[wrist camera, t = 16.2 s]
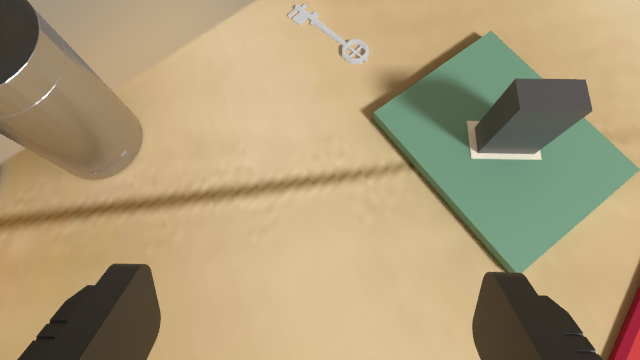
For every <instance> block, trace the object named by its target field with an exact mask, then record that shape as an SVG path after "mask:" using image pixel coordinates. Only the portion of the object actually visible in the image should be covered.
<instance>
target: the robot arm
mask: <svg viewBox="0 0 640 360" xmlns="http://www.w3.org/2000/svg"><path fill="white" fill-rule="evenodd" d="M0 134H2V135H4V136H6V137H8V138H9V139H11V140H13V141H15V142H16V143H18V144H20V145H22V146H24V147H25V148H27V149H29V150H31V151H33V152H34V153H36V154H38V155H40V156H41V157H43V158H45V159H47V160H49V161H50V162H52V163H54V164H56V165H57V166H59V167H61V168H63V169H65V170H66V171H68V172H70V173H72V174H74V175H75V176H77V177H81V178H84V179H92V180H95V179H103V178H107V177H110V176H113V175H115V174H116V173H118V172H120V171H122V170H123V169H124V168H126V167H127V166H128V165H129V164H130V163H131V162H132V161H133V159H134V158H135V156H136V155H137V153H138V151H139V148H140V146H141V142H142V128H141V125H140V123H139V120H138V119H137V118H136V116H135V115H134V114H133V113H132V112H131V111H130V109H129V108H128V107H127V106H126V105H125V104H124V103H123V102H122V101H121V100H120V99H119V98H118V97H117V95H116V94H115V93H114V92H113V91H112V90H111V89H110V88H109V87H108V86H107V85H106V84H105V83H104V82H103V81H102V80H101V79H100V77H99V76H98V75H96V73H95V72H94V71H93V70H92V69H91V68H90V67H89V66H88V65H87V64H86V63H85V62H84V61H83V59H81V57H80V56H79V55H78V54H77V53H76V52H75V51H74V50H73V49H72V48H71V47H70V46H69V45H68V44H67V42H66V41H65V40H63V38H62V37H61V36H60V35H59V34H58V33H57V32H56V31H55V30H54V29H53V28H52V27H51V26H50V25H49V24H48V23H47V21H46V20H45V19H44V18H43V17H42V16H41V15H40V14H39V13H38V12H37V11H36V10H35V9H34V8H33V7H32V6H31V5H30V3H29V2H28V1H27V0H0ZM160 320H161V315H160V308H159V304H158V299H157V295H156V290H155V286H154V282H153V277H152V273H151V269H150V267H149V266H148V265H146V264H113V265H111V266H110V267H109V268H108V269H107V271H106V272H105V273H104V274H103V276H102V277H101V278H100V280H99V281H98V282H97V284H96V285H87V286H86V287H84V288H83V289H82V290H80V291H79V292H78V293H76V294H75V295H73V296H72V297H71V298H69V299H68V300H66V301H65V302H64V304H63V305H62V306H61V307H60V308H59V310H58V311H57V312H56V313H55V315H54V316H53V317H52V318H51V319H50V323H49V324H46V326H45V327H44V328H43V329H42V330H41V332H40V333H39V334H38V335H37V339H36V341H32V343H31V344H30V345H29V346H28V347H27V349H26V350H25V351H24V352H23V354H22V355H21V356H20V357H19V358H18V360H147V357H148V355H149V353H150V351H151V349H152V347H153V345H154V343H155V341H156V338H157V336H158V332H159V328H160ZM472 329H473V338H474V343H475V346H476V349H477V351H478V354H479V356H480V359H481V360H602V358H601V357H600V356H599V354H596V353H595V349H594V347H593V346H592V345H591V343H590V342H589V340H588V339H587V338H586V337H584V336H583V332H582V331H581V330H580V328H579V327H578V325H577V324H576V323H575V321H574V320H573V319H572V317H571V316H570V314H569V313H568V312H567V311H565V310H564V309H563V308H562V307H560V306H559V305H558V304H557V303H555V302H554V301H553V300H552V299H550V298H549V297H548V296H538V294H537V293H536V291H535V290H534V288H533V287H532V285H531V284H530V283H529V281H528V280H527V278H526V277H525V276H524V275H523V274H522V273H513V272H487V273H486V274H485V275H484V278H483V281H482V285H481V289H480V293H479V297H478V301H477V305H476V309H475V313H474V317H473V325H472Z"/></svg>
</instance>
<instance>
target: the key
mask: <svg viewBox="0 0 640 360" xmlns="http://www.w3.org/2000/svg"><path fill="white" fill-rule="evenodd" d="M306 7H307V5H306V4H304V5H303V6H302V7H301V6H299V5H298V4H297V5H296V6H295V9H294V10H293V11H292V12H291V13H289V14H288V17H289V18H290V17H291V16H293V14H294V13H296V12H297V11H299V13H298V14H297V15H296V16H295V17H293V18H292V20H293V21H295V22H296V23H297V24H298V25H301V24H302V23H303V22H304V21H306V20H307V19H310V20H311V21H312V22H310V24H311V25H315V26H317V27H318V28H320V29H321V30H322V31H324V32H325V33H326V34H328V35H329V36H331V37H332V38H333V39H335V40H336V41H337V42H339V43H340V44H342V45H343V47H342V57H343V58H344V59H346V61H348V62H350V63H351V64H361V63H362V62H363V61H365V62H367V61H368V59H367V57H368V56H369V49H368V46H367V45H366V44H365V43H363V42H362V41H361V40H359V39H351V40H349V41H348V42H347V43H346V42H345V41H344V40H343V39H342V38H340V37H339V36H338V35H336V34H335V33H334V32H333V31H331V30H330V29H329V28H328V27H326V26H325V25H324V24H323V23H321V22H320V21H319V20H318V19H316V18H317V17H318V16H319V14H318V13H317V12H314V13H313V14H312V15H311V14H310V13H309V12H307V11H306V10H305V8H306ZM352 44H358V45H360V46H359V47H358V48H357V49H356V50H354V49H353V48H352V47H350V45H352ZM347 48H348V49H350V50H351V51H352V52H353V53H352V54H351V55H350V56H349V55H348V54H347V53H346V52H345V50H346V49H347ZM361 48H363V49H365V54H363V55H361V54H359V53H358V51H359V50H360V49H361ZM355 54H356V55H358V56H359V57H360V58H352V56H353V55H355Z"/></svg>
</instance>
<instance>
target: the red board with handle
mask: <svg viewBox="0 0 640 360" xmlns="http://www.w3.org/2000/svg"><path fill="white" fill-rule="evenodd" d="M608 360H640V286H639V288H638V291H637V293H636V295H635V298H634V300H633V303H632V305H631V307H630V310H629V312H628V314H627V317H626V319H625V321H624V324H623V326H622V329H621V331H620V333H619V336H618V338H617V340H616V343H615V345H614V348H613V350H612V352H611V355H610V357H609V359H608Z"/></svg>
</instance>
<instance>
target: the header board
mask: <svg viewBox="0 0 640 360" xmlns="http://www.w3.org/2000/svg"><path fill="white" fill-rule="evenodd" d="M515 78H519V79H542V78H541V77H540V76H539V75H538V74H537V73H536V72H535V71H534V70H532V69H531V68H530V67H529V66H528V65H527V64H526V63H525V62H524V61H523V60H522V59H521V58H520V57H518V56H517V55H516V54H515V53H514V52H513V51H512V50H511V49H510V48H509V47H508V46H507V45H506V44H505V43H503V42H502V41H501V40H500V39H499V38H498V37H497V36H496V35H495V34H494V33H493V32H492V31H490V32H489V33H487V34H486V35H484V36H483V37H481V38H480V39H478V40H477V41H476V42H474V43H473V44H471V45H470V46H468V47H467V48H465V49H464V50H463V51H461V52H460V53H458V54H457V55H455V56H454V57H453V58H451V59H450V60H448V61H447V62H445V63H444V64H442V65H441V66H440V67H438V68H437V69H435V70H434V71H432V72H431V73H429V74H428V75H427V76H425V77H424V78H422V79H421V80H419V81H418V82H416V83H415V84H414V85H412V86H411V87H409V88H408V89H406V90H405V91H404V92H402V93H401V94H399V95H398V96H396V97H395V98H393V99H392V100H391V101H389V102H388V103H386V104H385V105H383V106H382V107H380V108H379V109H378V110H376V111H375V112H374V113H373V117H372V119H373V120H374V121H375V122H376V123H377V125H378V126H379V127H380V128H381V129H382V130H383V131H384V132H385V134H386V135H387V136H388V137H389V138H390V139H391V140H392V142H393V143H394V144H395V145H396V146H397V147H398V148H399V149H400V151H401V152H402V153H403V154H404V155H405V156H406V157H407V159H408V160H409V161H410V162H411V163H412V164H413V165H414V166H415V168H416V169H417V170H418V171H419V172H420V173H421V174H422V176H423V177H424V178H425V179H426V180H427V181H428V182H429V183H430V185H431V186H432V187H433V188H434V189H435V190H436V191H437V193H438V194H439V195H440V196H441V197H442V198H443V199H444V200H445V202H446V203H447V204H448V205H449V206H450V207H451V208H452V210H453V211H454V212H455V213H456V214H457V215H458V216H459V217H460V219H461V220H462V221H463V222H464V223H465V224H466V225H467V227H468V228H469V229H470V230H471V231H472V232H473V233H474V234H475V236H476V237H477V238H478V239H479V240H480V241H481V242H482V244H483V245H484V246H485V247H486V248H487V249H488V250H489V251H490V253H491V254H492V255H493V256H494V257H495V258H496V259H497V261H498V262H499V263H500V264H501V265H502V266H503V267H504V268H505V270H506V271H507V272H513V273H522V272H523V271H524V270H526V269H527V268H528V267H529V266H530V265H531V264H532V263H534V262H535V261H536V260H537V259H538V258H539V257H541V256H542V255H543V254H544V253H545V252H546V251H547V250H549V249H550V248H551V247H552V246H553V245H554V244H555V243H557V242H558V241H559V240H560V239H561V238H562V237H563V236H565V235H566V234H567V233H568V232H569V231H570V230H572V229H573V228H574V227H575V226H576V225H577V224H578V223H580V222H581V221H582V220H583V219H584V218H585V217H586V216H588V215H589V214H590V213H591V212H592V211H593V210H594V209H596V208H597V207H598V206H599V205H600V204H601V203H602V202H604V201H605V200H606V199H607V198H608V197H609V196H611V195H612V194H613V193H614V192H615V191H616V190H617V189H619V188H620V187H621V186H622V185H623V184H624V183H625V182H627V181H628V180H629V179H630V178H631V177H632V176H633V175H635V174H636V173H637V172H638V171H639V170H640V169H639V168H638V167H637V166H636V165H634V164H633V163H632V162H631V161H630V160H629V159H628V158H627V157H626V156H625V155H624V154H623V153H622V152H621V151H619V150H618V149H617V148H616V147H615V146H614V145H613V144H612V143H611V142H610V141H609V140H608V139H607V138H605V137H604V136H603V135H602V134H601V133H600V132H599V131H598V130H597V129H596V128H595V127H594V126H593V125H592V124H590V123H589V122H588V121H587V120H586V119H585V118H582V119H581V120H580V121H578V122H577V123H576V124H574V125H573V126H572V127H570V128H569V129H568V130H566V131H565V132H564V133H562V134H561V135H560V136H558V137H557V138H555V139H554V140H553V141H551V142H550V143H549V144H547V145H546V146H545V147H543V148H542V149H541V150H539V151H538V152H537V153H535V154H499V153H478V151H477V142H476V134H475V127H476V125H477V124H478V123H479V122H480V121H481V119H482V118H483V117H484V116H485V115H486V113H487V112H488V111H489V110H490V108H491V107H492V106H493V105H494V104H495V102H496V101H497V100H498V99H499V98H500V96H501V95H502V94H503V93H504V92H505V90H506V89H507V88H508V87H509V85H510V84H511V83H512V82H513V81H514V79H515Z"/></svg>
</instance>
